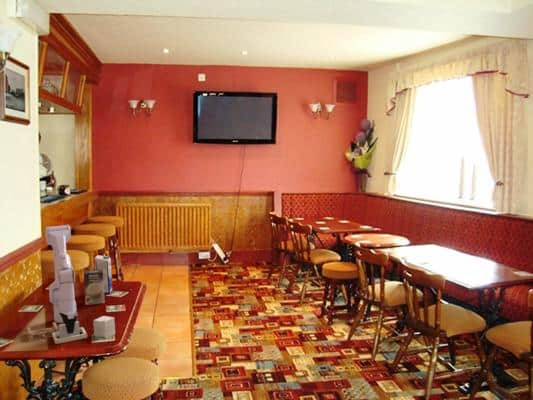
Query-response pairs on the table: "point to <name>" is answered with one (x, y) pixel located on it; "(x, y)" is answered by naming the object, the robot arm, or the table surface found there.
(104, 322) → the skincare box
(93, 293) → the coffee box
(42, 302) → the table surface
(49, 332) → the offcut
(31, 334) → the rack
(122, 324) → the table surface
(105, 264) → the milk carton
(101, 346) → the table surface
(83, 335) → the tray
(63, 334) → the block
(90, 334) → the table surface
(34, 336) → the offcut
